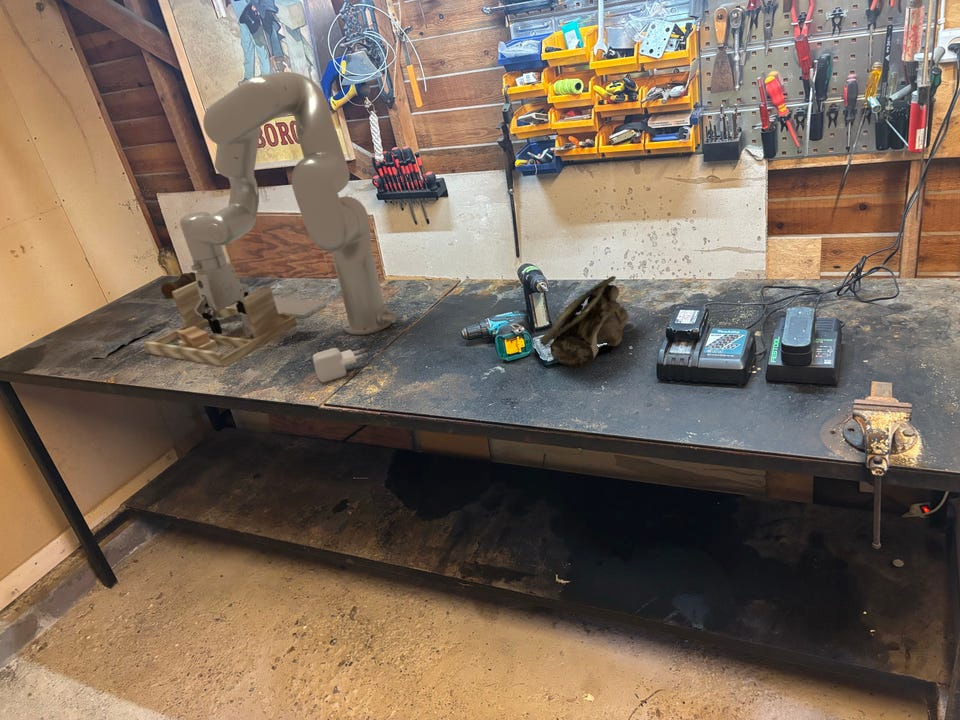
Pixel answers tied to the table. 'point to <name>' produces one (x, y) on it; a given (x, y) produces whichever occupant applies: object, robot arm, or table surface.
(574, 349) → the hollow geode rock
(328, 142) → the robot arm
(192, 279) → the brown lumpy piece
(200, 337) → the offcut top
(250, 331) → the bracket
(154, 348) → the rack
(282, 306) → the plate
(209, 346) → the offcut bottom
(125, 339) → the driftwood
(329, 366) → the power adapter
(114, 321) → the table surface
